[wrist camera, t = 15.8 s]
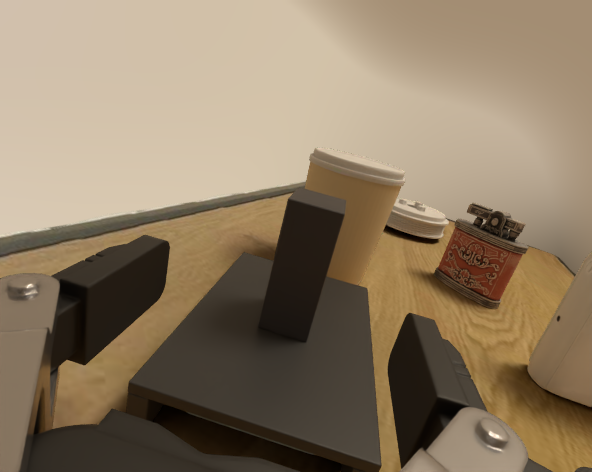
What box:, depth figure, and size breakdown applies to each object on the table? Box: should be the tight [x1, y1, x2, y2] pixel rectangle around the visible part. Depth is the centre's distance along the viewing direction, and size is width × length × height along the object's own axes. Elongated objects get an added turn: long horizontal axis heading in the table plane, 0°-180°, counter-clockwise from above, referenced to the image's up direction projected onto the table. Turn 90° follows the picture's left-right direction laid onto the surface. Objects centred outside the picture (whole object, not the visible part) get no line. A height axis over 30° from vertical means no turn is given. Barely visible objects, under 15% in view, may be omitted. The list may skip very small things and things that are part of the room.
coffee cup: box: [305, 147, 405, 285], centre depth 35 cm, size 9×9×12 cm
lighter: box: [434, 203, 528, 309], centre depth 39 cm, size 8×3×10 cm, turn 33°
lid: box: [386, 198, 449, 239], centre depth 61 cm, size 13×13×5 cm
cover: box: [126, 187, 381, 472], centre depth 21 cm, size 16×11×11 cm
